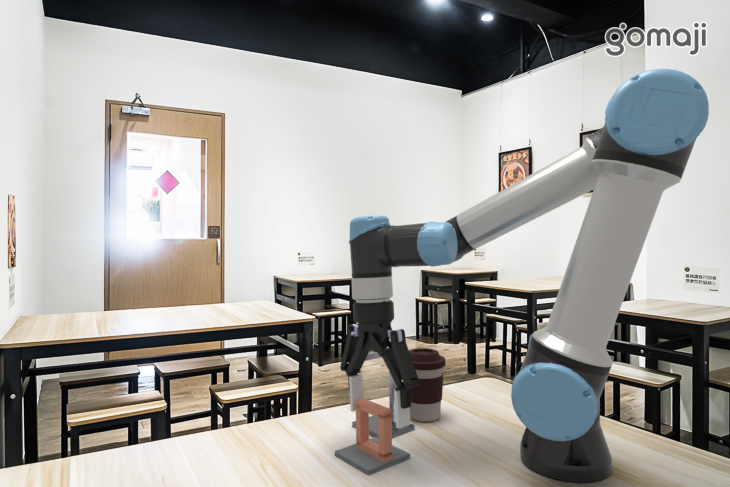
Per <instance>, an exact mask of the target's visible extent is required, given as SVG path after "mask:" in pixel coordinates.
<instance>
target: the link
mask: <svg viewBox="0 0 730 487" xmlns="http://www.w3.org/2000/svg"><path fill="white" fill-rule="evenodd" d="M370 416H376V417H378V438H379V445H378V444H376V443H374V442H372V441H370V440H369V439H370V435H369V417H370ZM355 421H356V428H355V429H356V430H355V432H356V433H355V442H356V443H355V444H356V448H358V449H359V450H361V451H363V452H365V453H367V454H369V455H371V456H373V457H374V458H376V459H378V460H380V461H382V462H387V461H389V460H392V445H393V438H392V409H390V408H389V407H387V406H384V405H382V404H379V403H377V402H374V401H371V400H370V399H367V398H364V397H363V399H360V400H356V411H355Z"/></svg>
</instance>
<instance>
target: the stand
mask: <svg viewBox="0 0 730 487" xmlns="http://www.w3.org/2000/svg"><path fill="white" fill-rule="evenodd" d="M381 358H382V357H381V356H379V355H378V353H377V352H373V351H371V352H370V351H369V353H368V355H367V357H366V359H365V361H364V362H367V361H372V360H376V359H381ZM382 359H383V358H382ZM348 363H349V362H347V364H348ZM388 384H389V385H388V386H389V388H388V393H389V394H388V396H389V397H388V398H389V400H388V401H389V403H388V404H389V407H388V408H390V409H392V439H393V438H395V437H399V436H401V435H404V434H407V433H410V432H412V431H415V424H413V423H411V422H410V425H407V426H405V427H402V428H396V417H395V397H394V389H396V388H397V385H396V384H395V382H394V380H393V378H392V376H391V374H390V372H389V371H388ZM351 427H352V428H355V429H356V420H355V421H352V422H351ZM369 436H370V437H372V438H374V437H376V438H378V417H376V416H373V415H369ZM378 439H379V438H378Z"/></svg>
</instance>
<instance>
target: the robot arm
mask: <svg viewBox="0 0 730 487" xmlns="http://www.w3.org/2000/svg"><path fill="white" fill-rule="evenodd" d="M708 98H709V97H708V95H707V93H706V90H705V89H704V88H703V86H702V85H701V83H699V81H698V80H697V79H696V78H694V77H693V76H691V75H689V74H688V73H685V72H683V71H680V70H677V69H672V68H671V69H670V68H655V69H649V70H646V71H642V72H639V73H638V74H635V75H633V76H632V77H630V78H628V79H627V80H626V81H624V82H622V84H621V85H620V86H619V87H618V88H616V90H615V92H614V93H613V95H612V96H611V97H610V99H609V100H608V103H607V105H606V108H605V112H604V113H605V114H604V115H605V116H604V125H603V126H602V127H601V128H600V129H598V130H597V131H595V132H593V133H592V134H590V135H587V136H586V137H585V138H584V140H583V143H582V146H580V147H579V148H577V149H575V150H573V151H571V152H570V153H568V154H565V155H564V156H563V157H561V158H559V159H556V160H555V161H553V162H552V163H550V164H547V165H546V166H544V167H542V168H540V169H538V170H536V171H535V172H533V173H530V174H529V175H528V176H526V177H524V178H522V179H520V180H519V181H517V182H515V183H513V184H511V185H509V186H508V187H505V188H504V189H502V190H500V191H499V192H497V193H495V194H492V195H491V196H489V197H488V198H486V199H484V200H483V201H480V202H479V203H477V204H475V205H473V206H471V207H470V208H468V209H466V210H464V211H462V212H461V213H458V214H457V215H456V216H454V217H451V218H450V219H447V220H446V221H441V222H440V221H439V222H438V221H428V222H424V223H411V224H404V225H403V224H402V225H391V222H390V218H389V217H388V216H386V215H370V216H369V215H364V216H358V217H354V218H353V219H351V221H350V222H349V241H348V245H349V250H350V262H351V265H350V268H351V298H352V300H354V302H353V304H352V311H353V313H352V315H353V322H355V323H353V324H348V325H347V326H346V329H347V330H346V332H347V333H346V334H347V336H346V339H345V345H344V349H343V353H342V357H341V361H340V366H339V368H340V371H341V372H345V375H346V376H347V381H348V382H347V383H348V391H349V401H350V402H349V403H350V412H356V400H360V399H363V398H364V385H363V384H364V381H363V378H364V377H363V374H361V373H362V368H363V365H364V364H365V362H366V361H365V359H366V357H367V355H368V353H370V351H371V352H377V353H378V355H379V356H381V357H382V360H383V362H384V364H385V365H386V368H387V370H388V373H389V372H390V374H391V376H392V378H393V380H394V382H395V384H396V385H397V388H396V389H394V397H395V417H396V428H402V427H405V426H407V425H410V423H411V418H410V407H411V388H412V387H414V386H417V385H419V383H420V382H419V379H418V376H417V373H416V370H415V367H414V364H413V361H412V358H411V356H410V353H409V350H410V349H409V347H408V344H407V339H406V332H405V330H404V328H399V329H396V330H395V329H393V328H392V321H394V319H395V307H394V306H395V305H394V301H393V300H392V299H391V298H393V296H394V292H393V291H394V290H393V288H394V287H393V272H392V271H393V268H399V267H434V268H435V267H441V266H447V265H448V266H449V265H451V264H453V263H455V262H457V261H460V260H461V259H462V258H463V257H464V256H465V255H467V254H469V253H470V252H473V251H474V250H476V249H478V248H480V247H482V246H484V245H486V244H488V243H490V242H492V241H494V240H497V239H498V238H500V237H502V236H504V235H505V234H508V233H510V232H512V231H514V230H516V229H518V228H520V227H522V226H524V225H525V224H528V223H529V222H532V221H534V220H536V219H537V218H540V217H541V216H545V215H546V214H548V213H550V212H552V211H554V210H555V209H558V208H560V207H561V206H564V205H566V204H567V203H570V202H571V201H574V200H575V199H577V198H579V197H582V196H583V195H586V194H588V193H589V192H592V194H591V197H590V200H589V203H588V206H587V209H586V212H585V215H584V218H583V220H582V223H581V225H580V229H579V231H578V234H577V238H576V240H575V243H574V246H573V249H572V251H571V255H570V258H569V260H568V264H567V267H566V269H565V273H564V275H563V278H562V281H561V284H560V287H559V290H558V292H557V295H556V298H555V301H554V304H553V307H552V309H551V312H550V315H549V318H548V322H547V324H546V326H545V327H542V328H540V329H538V330H536V331H533V333H532V334H530V335H529V340H528V345H527V350H526V352H525V356H524V359H523V362H522V364H521V367H520V370H519V371H518V372H517V374H516V375H515V377H514V378H513V381H512V384H511V392H510V393H511V394H510V396H511V397H510V398H511V403H512V405H511V406H512V407H513V410H514V412H515V415H516V416H517V417H518V419H519V421H520V423H522V425H523V426H524V427H525V429H524V432H523V435H522V438H521V441H520V446H519V452H520V453H519V454H520V455H519V456H520V459H521V461H522V463H523V464H524V465H525V466H526V467H527V468H528V469H530V470H532V471H534V472H536V473H537V474H540V475H542V476H545V477H548V478H552V479H555V480H559V481H564V482H573V483H591V482H592V483H593V482H599V481H602V480H604V479H607V478H608V477H609V476H610V475H611V474H612V470H613V469H612V467H613V466H612V465H613V463H612V462H613V458H612V453H611V451H610V448H609V445H608V443H607V439H606V437H605V434H604V431H603V428H602V425H601V413H600V412H601V408H600V407H601V402H600V401H601V400H600V399H601V397H602V393H603V390H604V388H605V385H606V384H607V383H606V382H607V380H608V377H609V374H610V372H611V368H612V366H613V363H614V362H613V359H612V358H611V356H610V355H609V353H608V350H607V345H608V343H609V340H610V337H611V335H612V333H613V329H614V327H615V324H616V321H617V318H618V316H619V314H620V313H619V312H620V310H621V307H622V305H623V302H624V300H625V297H626V294H627V291H628V289H629V285H630V283H631V281H632V278H633V274H634V272H635V269H636V266H637V264H638V261H639V259H640V255H641V253H642V251H643V248H644V245H645V242H646V240H647V237H648V234H649V231H650V228H651V225H652V223H653V220H654V218H655V215H656V212H657V211H658V210H657V209H658V207H659V204H660V201H661V199H662V195H663V194H664V192H665V191H666V190H667V189H669V188H671V187H674V186H675V185H677V184H678V183H680V182H681V181H682V177H683V175H684V172H685V170H686V167H687V165H688V162H689V159H690V157H691V154H692V151H693V149H694V145H695V144H696V143H695V142H696V141H697V138H698V137H699V136H700V134H702V132H703V131H704V129H705V127H706V126H707V124H708V123H707V122H708V119H709V114H710V105H709V104H710V103H709V99H708ZM347 362H349V363H348V364H347ZM410 379H412V380H410Z"/></svg>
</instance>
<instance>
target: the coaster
mask: <svg viewBox="0 0 730 487" xmlns="http://www.w3.org/2000/svg"><path fill="white" fill-rule="evenodd" d="M369 440H370V441H372V442H374V443H376V444H378V445H379V439H378V438H376V437H372V438H369ZM334 457H337V458H339V459H340V460H342V461H344V462H345V463H347V464H348V465H351V466H352V467H353V468H356V469H357V470H358V471H361V472H363V474H365V475H367V476H370V475H373V474H375V473H378V472H379V471H382V470H384V469H387V468H390V467H392V466H395V465H397V464H399V463H402V462H405V461H406V460H409V459H411V453H410V452H407V451H406V450H404V449H401V448H399V447H397V446H395V445H393V444H392V460H389V461H387V462H382V461H380V460H378V459H376V458H374V457H373V456H371V455H369V454H367V453H365V452H363V451H361V450H359V449H358V448H356V443H354V444H351V445H348V446H346V447H342V448H340V449H337V450H334Z"/></svg>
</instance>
